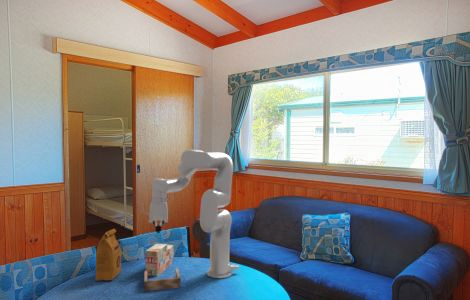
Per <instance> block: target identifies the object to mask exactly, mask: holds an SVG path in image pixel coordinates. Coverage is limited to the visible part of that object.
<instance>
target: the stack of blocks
mask: <svg viewBox="0 0 470 300" xmlns="http://www.w3.org/2000/svg"><path fill="white" fill-rule="evenodd" d="M174 247H175V246H174V244H173V245H172V244H168V243H155V244H154V245H152V246H151V247H149V248H147V249H146V250H145V270H144V272H145V271H147V277H149V276H151V277H158V276H159V275H161V274H162V273H163V272H164V271H165V270H167V268H169V267H170V266H171V265H173V263H174V262H175V260H174V259H175V256H174V255H175V253H174V252H175V251H174V250H175V249H174Z"/></svg>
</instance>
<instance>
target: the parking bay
mask: <svg viewBox="0 0 470 300" xmlns="http://www.w3.org/2000/svg"><path fill="white" fill-rule="evenodd" d="M181 278H182V277H181V275H180V271H179V268H175V272H174V277H171V278H169V277H168V278H158V279H157V278H156V279H148V276H147V271H145V270H144V279H143V280H144V284H143V285H144V286H143V287H144V292H146V291H148V292H149V291H157V290H169V289H179V288H182V287H181Z"/></svg>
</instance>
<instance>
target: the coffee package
mask: <svg viewBox="0 0 470 300" xmlns="http://www.w3.org/2000/svg"><path fill="white" fill-rule="evenodd" d="M116 233H117V230H116V229H115V228H112V229H110V230H108V231H106V232H105V233H104V234H103V236H102V237H101V239H100V241H99V242H98V245H97V246H96V251H95V281H97V282H99V281H113V280H115V278H116V277H117V276H119V274H121V271H122V248H121V245H120V244H119V241H118V240H117V238H116V235H115V234H116Z"/></svg>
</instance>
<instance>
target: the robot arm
mask: <svg viewBox="0 0 470 300" xmlns="http://www.w3.org/2000/svg"><path fill="white" fill-rule="evenodd" d="M180 162H181V163H180V164H179V165H178V167H177V171H178V172H179V176H177V177H176V178H175V177H174V178H169V179H168V178H167V179H166V178H162V177H155V178H153V179H152V195H151V197H152V198H151V199H152V200H151V202H150V205H149V215H148V223H150V224H153V225H154V226H155V232H156V234H161V233H160V232H162V226H163V225H164V224H165V223H168V222H169V208H168V206H169V205H168V202H167V201H169V197H167V194H169V193H177V192H180V191H182V190H183V189H184V188H186V187H187V185H189V183H190V182H191V177H192V176H193V175H194V174H195V173H196V172H197V171H198V170H204V171H206V170H217V172H216V174H215V176H214V181H213V182H214V184H213V188H210V189H207V190H205V191H204V192H203V194H202V196H201V201H200V212H199V225H200V228H201V229H202V231H203V232H205V233H209V234H210V238H209V240H210V241H209V269H207V270H206V275H207V276H208V277H209V278H212V279H225V278H229V277H231V276H232V275H233V271H234V270H240V266H239V264H231V263H230V242H231V241H230V240H231V238H230V237H231V228H232V224H233V222H232V220H233V219H232V214H231V213H230V211H229V210H227V209H226V208H225V207H227V206H228V205H229V204H230V203H231V197H232V184H233V183H232V181H233V174H234V164H233V163H234V162H233V160H232V158H231V157H230V156H229V155H228V154H226V153H225V152H221V151H204V150H201V149H186V150H185V151H183V152H182V153H181V156H180ZM222 208H224V209H222ZM158 222H159V223H158Z"/></svg>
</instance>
